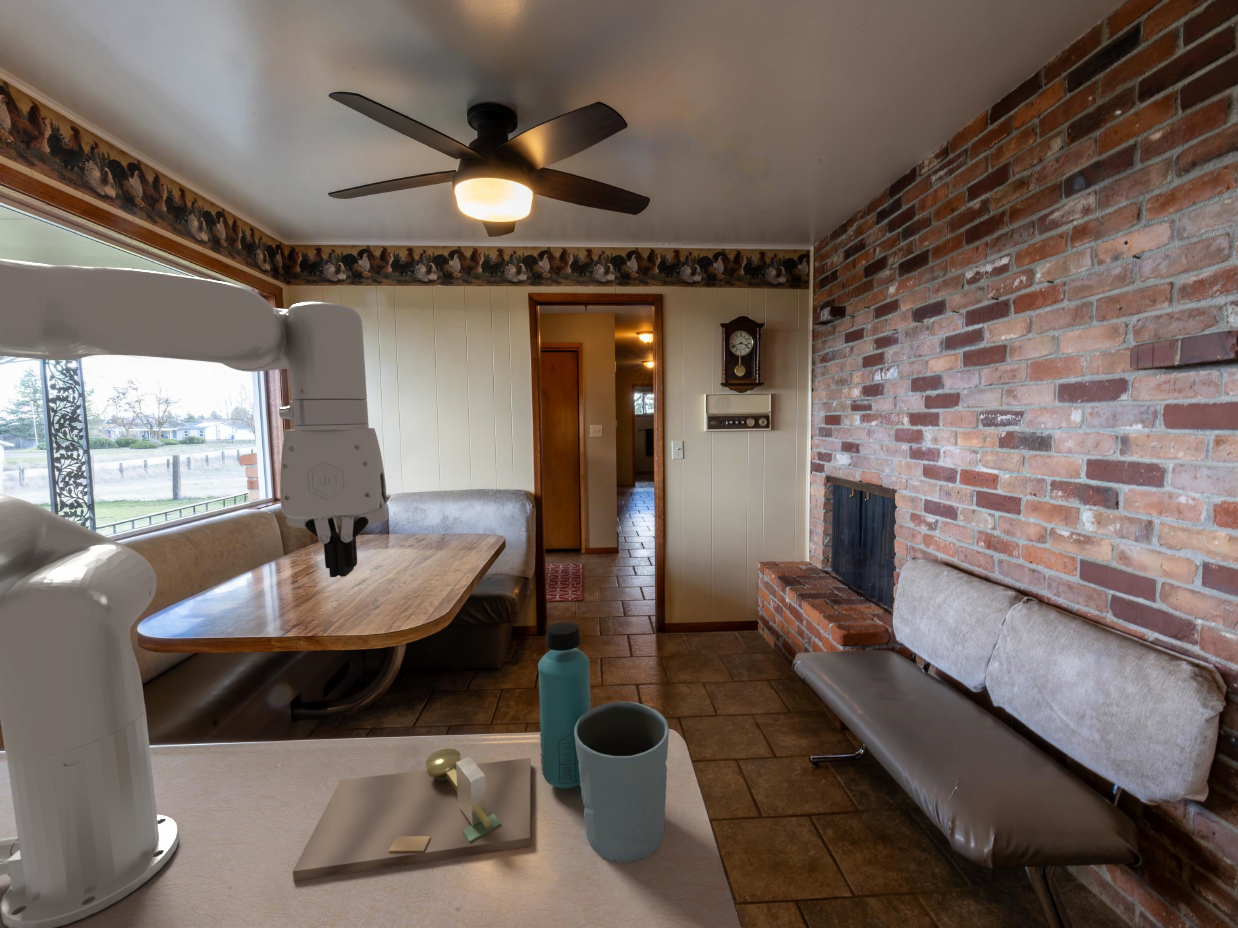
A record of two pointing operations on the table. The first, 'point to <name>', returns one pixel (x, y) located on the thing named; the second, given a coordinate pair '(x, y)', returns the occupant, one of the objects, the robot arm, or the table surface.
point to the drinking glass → (623, 778)
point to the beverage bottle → (562, 703)
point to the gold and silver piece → (462, 782)
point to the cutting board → (415, 821)
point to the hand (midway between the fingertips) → (342, 573)
